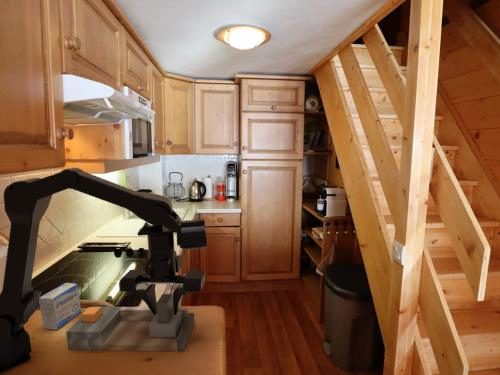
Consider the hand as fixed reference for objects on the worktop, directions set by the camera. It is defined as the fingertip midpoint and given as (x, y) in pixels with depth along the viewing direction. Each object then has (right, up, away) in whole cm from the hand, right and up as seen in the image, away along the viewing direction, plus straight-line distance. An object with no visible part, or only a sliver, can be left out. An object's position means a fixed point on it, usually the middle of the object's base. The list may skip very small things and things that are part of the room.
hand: (165, 313), depth 67 cm
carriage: (0, -4, +1) cm, 4 cm away
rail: (-8, -6, +1) cm, 10 cm away
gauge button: (-18, -3, +1) cm, 18 cm away
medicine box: (-30, -5, +8) cm, 31 cm away
